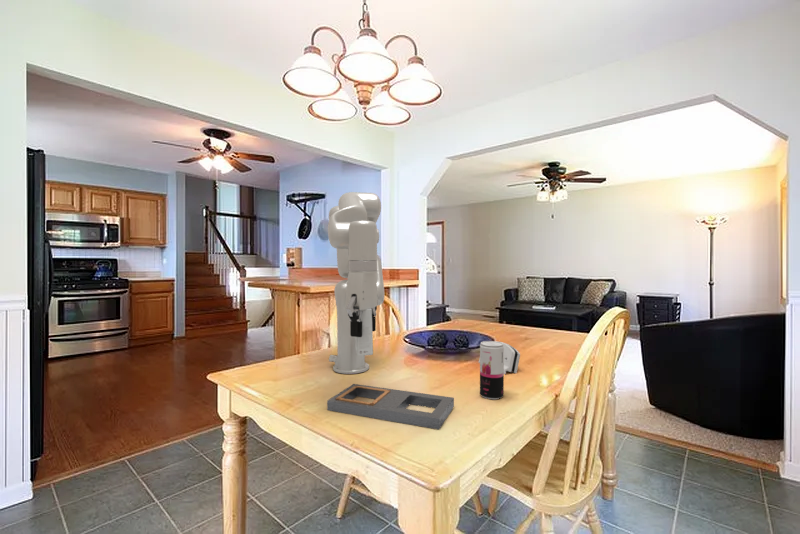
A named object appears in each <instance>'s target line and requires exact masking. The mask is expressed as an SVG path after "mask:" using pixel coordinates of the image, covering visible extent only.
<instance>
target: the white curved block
mask: <svg viewBox="0 0 800 534" xmlns="http://www.w3.org/2000/svg"><path fill="white" fill-rule="evenodd" d="M496 342H498V341H496ZM500 342H501V343H503V346H504V374H505V375H506V374H507V372H510V373H514V374H517V372H518V368H519V363H520V358H521V353H520V351H518V349H516V348H515V347H513V346H512V345H510V344H509V343H506V342H502V341H500ZM478 359H479V360H478V364H480V358H478Z"/></svg>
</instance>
